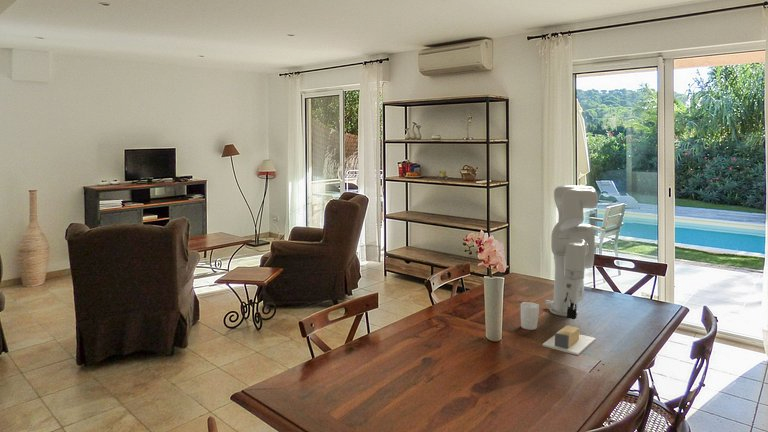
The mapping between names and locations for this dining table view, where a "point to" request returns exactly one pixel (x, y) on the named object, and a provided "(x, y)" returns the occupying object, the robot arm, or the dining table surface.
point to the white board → (575, 348)
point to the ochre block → (566, 336)
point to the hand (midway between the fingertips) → (571, 318)
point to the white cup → (529, 315)
